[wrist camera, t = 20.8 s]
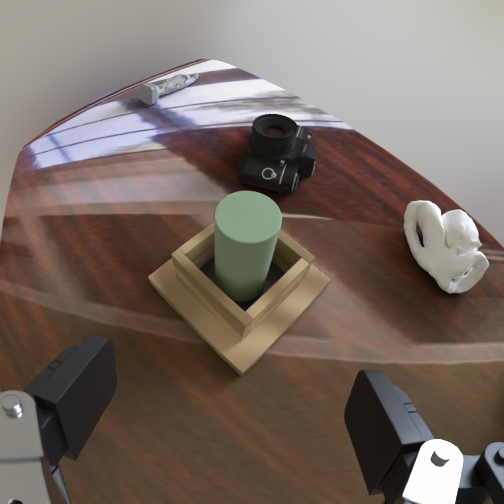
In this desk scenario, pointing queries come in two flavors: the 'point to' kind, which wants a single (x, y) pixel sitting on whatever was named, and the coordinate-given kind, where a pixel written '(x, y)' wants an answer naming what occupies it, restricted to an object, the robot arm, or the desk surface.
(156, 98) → the figurine
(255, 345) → the display stand
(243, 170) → the film camera
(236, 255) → the green tall cylinder
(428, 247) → the white looped sculpture
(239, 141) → the desk surface
